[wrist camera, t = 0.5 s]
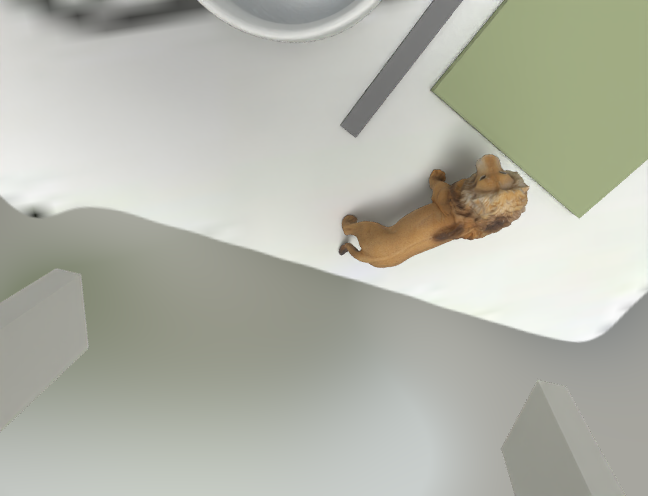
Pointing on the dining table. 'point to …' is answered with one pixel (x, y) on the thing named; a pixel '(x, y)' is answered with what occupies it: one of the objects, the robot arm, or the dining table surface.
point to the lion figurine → (443, 216)
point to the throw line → (399, 64)
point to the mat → (559, 92)
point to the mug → (291, 17)
